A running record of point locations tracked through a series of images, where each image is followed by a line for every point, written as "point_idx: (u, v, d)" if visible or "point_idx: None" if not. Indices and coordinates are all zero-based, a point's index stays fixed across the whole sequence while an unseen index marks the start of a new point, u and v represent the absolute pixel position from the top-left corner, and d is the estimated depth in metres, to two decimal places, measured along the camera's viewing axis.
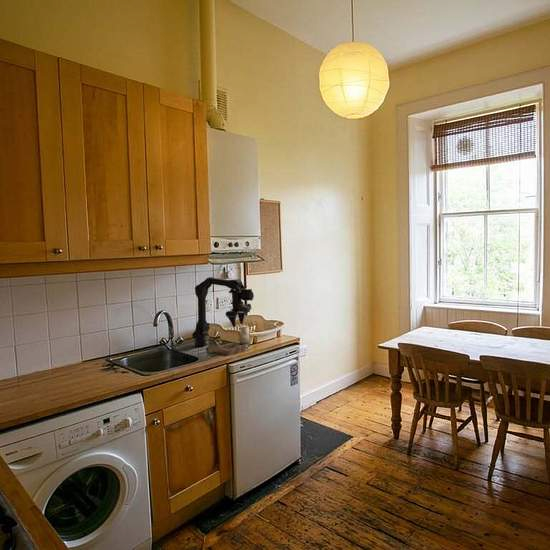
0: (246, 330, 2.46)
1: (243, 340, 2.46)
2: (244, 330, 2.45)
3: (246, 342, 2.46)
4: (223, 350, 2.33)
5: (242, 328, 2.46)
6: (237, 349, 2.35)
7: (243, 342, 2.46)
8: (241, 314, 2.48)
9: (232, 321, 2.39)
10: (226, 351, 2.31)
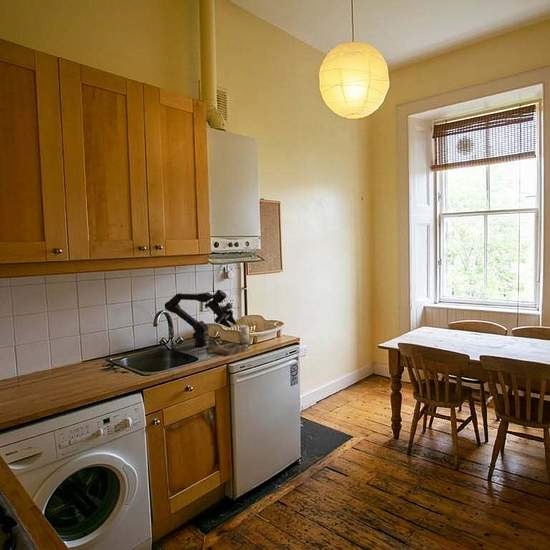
0: (246, 330, 2.46)
1: (243, 340, 2.46)
2: (244, 330, 2.45)
3: (246, 342, 2.46)
4: (223, 350, 2.33)
5: (242, 328, 2.46)
6: (237, 349, 2.35)
7: (243, 342, 2.46)
8: (229, 317, 2.55)
9: (225, 323, 2.44)
10: (226, 351, 2.31)
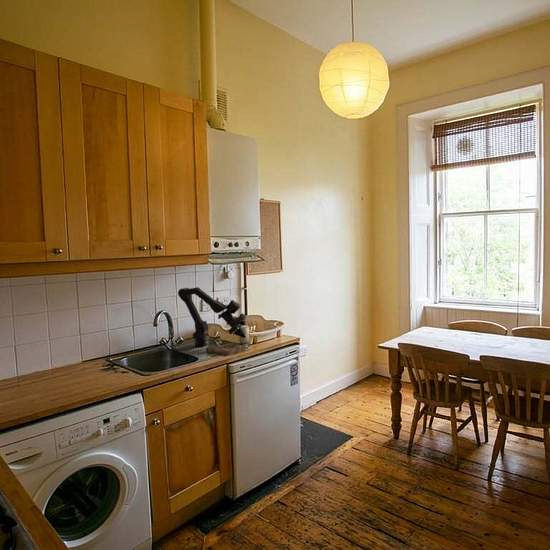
0: (246, 330, 2.46)
1: (243, 340, 2.46)
2: (244, 330, 2.45)
3: (246, 342, 2.46)
4: (223, 350, 2.33)
5: (242, 328, 2.46)
6: (237, 349, 2.35)
7: (243, 342, 2.46)
8: None
9: (240, 334, 2.45)
10: (226, 351, 2.31)
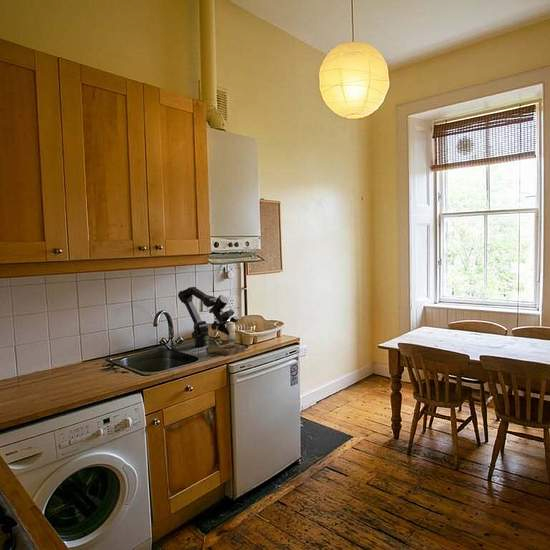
0: (230, 327, 2.35)
1: (227, 337, 2.36)
2: (228, 327, 2.35)
3: (230, 339, 2.35)
4: (223, 350, 2.33)
5: (227, 324, 2.36)
6: (237, 349, 2.35)
7: (227, 339, 2.36)
8: None
9: (224, 330, 2.35)
10: (226, 351, 2.31)
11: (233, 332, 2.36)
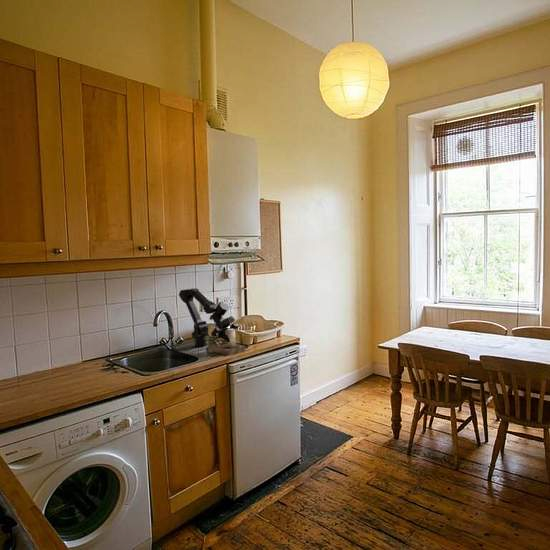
0: (231, 334, 2.35)
1: (228, 344, 2.36)
2: (228, 334, 2.35)
3: (230, 346, 2.35)
4: (223, 350, 2.33)
5: (227, 331, 2.36)
6: (237, 349, 2.35)
7: (228, 346, 2.36)
8: None
9: (224, 337, 2.36)
10: (226, 351, 2.31)
11: (233, 339, 2.36)
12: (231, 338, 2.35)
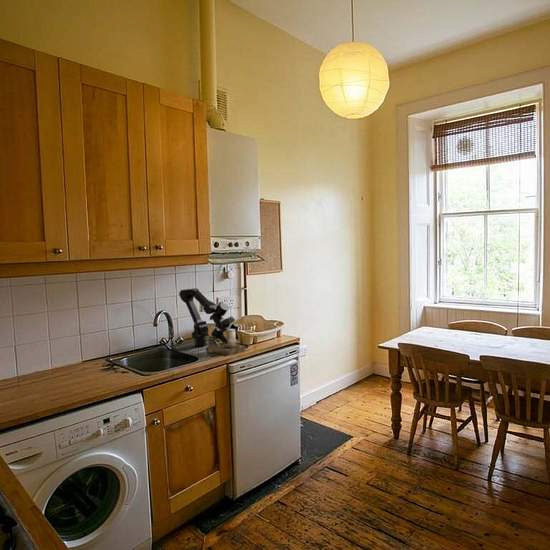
0: (230, 334, 2.35)
1: (228, 344, 2.36)
2: (228, 334, 2.35)
3: (230, 346, 2.36)
4: (223, 350, 2.33)
5: (227, 331, 2.36)
6: (237, 349, 2.35)
7: (228, 346, 2.36)
8: None
9: (222, 338, 2.34)
10: (226, 351, 2.31)
11: (233, 339, 2.36)
12: (231, 338, 2.35)
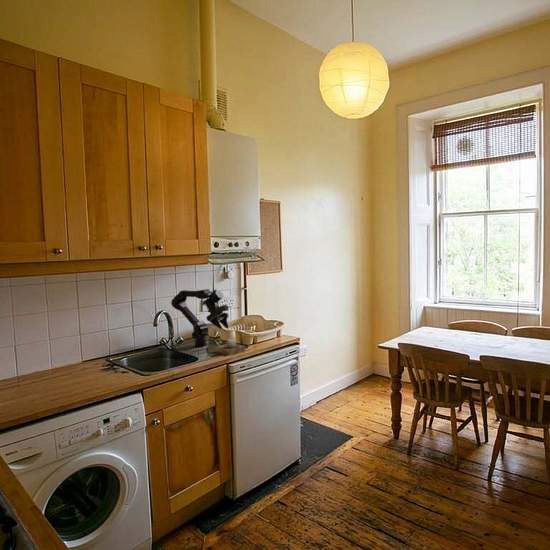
0: (230, 334, 2.35)
1: (228, 344, 2.36)
2: (228, 334, 2.35)
3: (230, 346, 2.36)
4: (223, 350, 2.33)
5: (227, 331, 2.36)
6: (237, 349, 2.35)
7: (228, 346, 2.36)
8: (223, 319, 2.50)
9: (216, 323, 2.39)
10: (226, 351, 2.31)
11: (233, 339, 2.36)
12: (231, 338, 2.35)
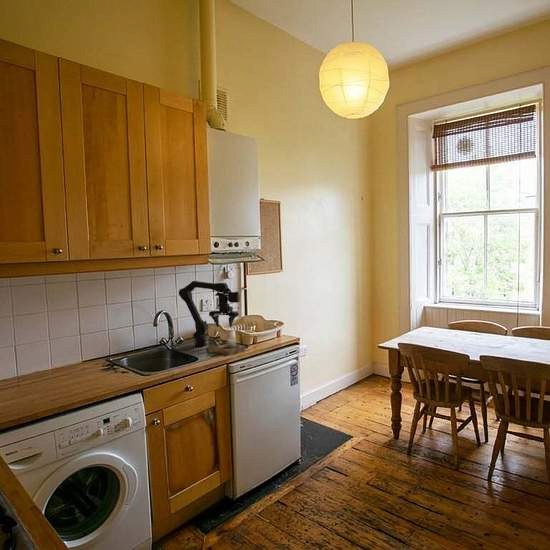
0: (230, 334, 2.35)
1: (228, 344, 2.36)
2: (228, 334, 2.35)
3: (230, 346, 2.36)
4: (223, 350, 2.33)
5: (227, 331, 2.36)
6: (237, 349, 2.35)
7: (228, 346, 2.36)
8: (217, 317, 2.54)
9: (231, 322, 2.50)
10: (226, 351, 2.31)
11: (233, 339, 2.36)
12: (231, 338, 2.35)
